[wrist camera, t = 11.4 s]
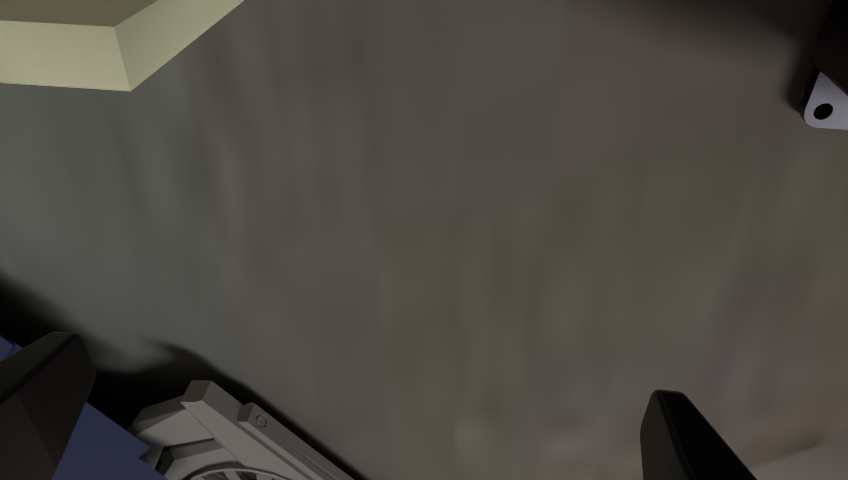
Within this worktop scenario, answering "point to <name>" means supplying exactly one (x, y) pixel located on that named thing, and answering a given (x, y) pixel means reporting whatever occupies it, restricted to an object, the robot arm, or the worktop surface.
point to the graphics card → (224, 440)
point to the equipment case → (98, 39)
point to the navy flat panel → (97, 445)
